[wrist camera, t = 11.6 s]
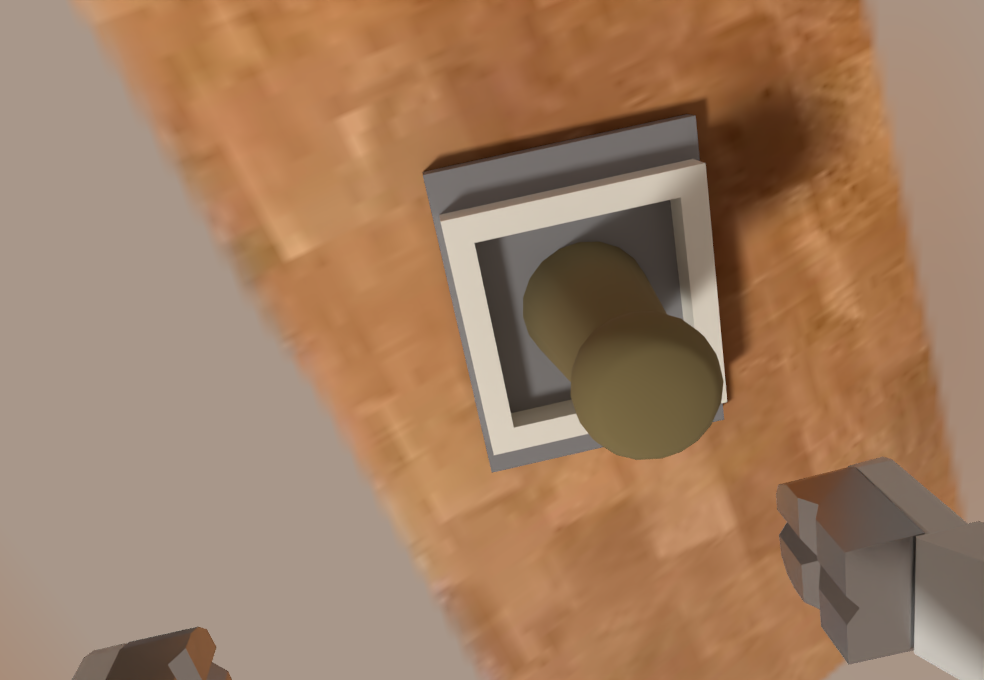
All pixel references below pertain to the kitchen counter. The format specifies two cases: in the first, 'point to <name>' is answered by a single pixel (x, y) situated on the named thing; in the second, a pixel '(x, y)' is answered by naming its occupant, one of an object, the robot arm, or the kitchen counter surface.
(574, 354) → the olive knobbed peg
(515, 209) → the notch board
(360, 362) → the kitchen counter surface
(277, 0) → the kitchen counter surface
